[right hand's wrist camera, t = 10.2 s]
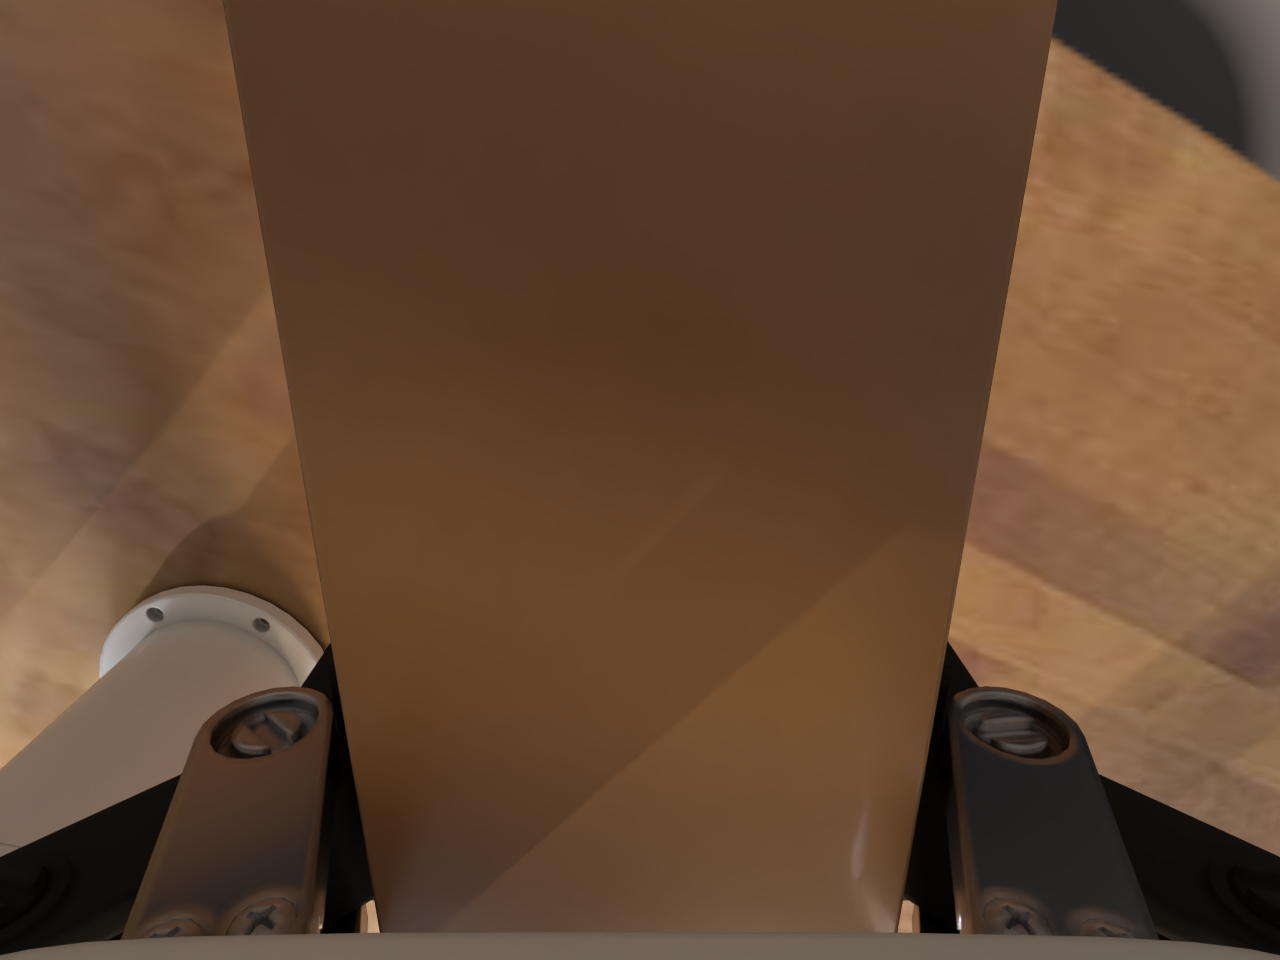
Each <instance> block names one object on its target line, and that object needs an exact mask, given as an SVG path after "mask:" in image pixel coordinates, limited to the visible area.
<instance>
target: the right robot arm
mask: <svg viewBox="0 0 1280 960" xmlns="http://www.w3.org/2000/svg"><path fill="white" fill-rule="evenodd" d="M370 900H374V895H373V889H372V883H371V877H370V871H369V865H368V859H367V853H366V847H365V841H364V835H363V830H362V824H361V818H360V812H359V806H358V800H357V794H356V788H355V782H354V776H353V770H352V764H351V758H350V752H349V747H348V741H347V735H346V729H345V723H344V717H343V711H342V705H341V699H340V693H339V687H338V681H337V675H336V669H335V663H334V658H333V652H332V646H331V643H330V644H329V646H328V647H327V649H326V650H325V652H323V650H322V648H321V646H320V645H319V644H318V643H317V642H316V640H315V639H314V638H313V637H312V635H311V634H310V633H309V632H308V631H307V630H306V629H305V628H304V627H303V626H302V625H301V624H299V623H298V622H297V621H296V620H295V619H294V618H293V617H291V616H290V615H289V614H287V613H286V612H284V611H282V610H281V609H279V608H278V607H276V606H274V605H273V604H271V603H269V602H267V601H265V600H262V599H260V598H258V597H255V596H253V595H251V594H248V593H245V592H241V591H237V590H233V589H229V588H225V587H215V586H205V585H200V586H185V587H178V588H174V589H170V590H166V591H162V592H160V593H157V594H155V595H153V596H151V597H149V598H147V599H145V600H143V601H142V602H141V603H139V604H138V605H137V606H135V607H134V608H133V609H132V610H130V611H129V612H128V613H126V614H125V615H124V616H123V617H122V618H121V619H120V620H119V621H118V623H117V624H116V625H115V626H114V627H113V628H112V630H111V632H110V633H109V635H108V637H107V639H106V640H105V642H104V645H103V649H102V653H101V657H100V679H99V680H98V681H97V682H96V683H95V684H94V685H93V686H91V687H90V688H89V689H88V690H87V691H86V692H85V693H84V694H83V695H82V696H81V697H79V698H78V699H77V700H76V701H75V702H74V703H73V704H72V705H71V706H70V707H68V708H67V709H66V710H65V711H64V712H63V713H62V714H61V715H60V716H59V717H57V718H56V719H55V720H54V721H53V722H52V723H51V724H50V725H49V726H48V727H47V728H45V729H44V730H43V731H42V732H41V733H40V734H39V735H38V736H37V737H36V738H34V739H33V740H32V741H31V742H30V743H29V744H28V745H27V746H26V747H25V748H23V749H22V750H21V751H20V752H19V753H18V754H17V755H16V756H15V757H14V758H13V759H11V760H10V761H9V762H8V763H7V764H6V765H5V766H4V767H3V768H2V769H0V960H1280V857H1279V856H1276V855H1274V854H1272V853H1270V852H1268V851H1265V850H1263V849H1261V848H1259V847H1257V846H1255V845H1252V844H1250V843H1248V842H1246V841H1244V840H1241V839H1239V838H1237V837H1235V836H1233V835H1231V834H1228V833H1226V832H1224V831H1222V830H1220V829H1217V828H1215V827H1213V826H1211V825H1209V824H1207V823H1204V822H1202V821H1200V820H1198V819H1196V818H1193V817H1191V816H1189V815H1187V814H1185V813H1182V812H1180V811H1178V810H1176V809H1174V808H1172V807H1169V806H1167V805H1165V804H1163V803H1161V802H1158V801H1156V800H1154V799H1152V798H1150V797H1148V796H1145V795H1143V794H1141V793H1139V792H1137V791H1134V790H1132V789H1130V788H1128V787H1126V786H1123V785H1121V784H1119V783H1117V782H1115V781H1113V780H1110V779H1108V778H1106V777H1104V776H1102V775H1099V774H1098V771H1097V769H1096V766H1095V763H1094V761H1093V758H1092V755H1091V752H1090V750H1089V747H1088V744H1087V742H1086V739H1085V736H1084V735H1083V733H1082V731H1081V730H1080V728H1079V726H1078V725H1077V723H1076V722H1075V721H1073V720H1072V719H1071V718H1070V717H1069V716H1068V715H1067V714H1066V713H1065V712H1064V711H1062V710H1060V709H1059V708H1057V707H1055V706H1054V705H1052V704H1050V703H1049V702H1047V701H1045V700H1043V699H1040V698H1038V697H1035V696H1033V695H1030V694H1028V693H1025V692H1021V691H1017V690H1013V689H1009V688H1002V687H989V686H984V687H978V685H977V684H976V682H975V681H974V679H973V678H972V676H971V675H970V673H969V672H968V671H967V669H966V668H965V666H964V665H963V663H962V662H961V660H960V659H959V657H958V656H957V654H956V653H955V651H954V650H953V648H952V647H951V645H950V644H949V642H948V641H947V646H946V652H945V658H944V664H943V670H942V675H941V681H940V687H939V693H938V699H937V704H936V710H935V716H934V722H933V728H932V733H931V739H930V745H929V751H928V757H927V763H926V768H925V774H924V780H923V786H922V792H921V797H920V803H919V809H918V815H917V821H916V826H915V832H914V838H913V844H912V850H911V856H910V861H909V867H908V873H907V879H906V885H905V890H904V896H903V900H909V901H911V902H912V903H914V909H913V915H912V928H913V933H826V932H454V933H367V928H368V915H367V909H366V903H367V902H369V901H370Z"/></svg>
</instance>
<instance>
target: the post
mask: <svg viewBox="0 0 1280 960" xmlns="http://www.w3.org/2000/svg"><path fill="white" fill-rule="evenodd" d="M1057 1H1058V0H223V5H224V11H225V17H226V23H227V29H228V35H229V41H230V47H231V53H232V59H233V64H234V70H235V76H236V82H237V88H238V94H239V100H240V106H241V112H242V118H243V124H244V130H245V136H246V142H247V147H248V153H249V159H250V165H251V171H252V177H253V183H254V189H255V195H256V201H257V207H258V213H259V219H260V225H261V231H262V236H263V242H264V248H265V254H266V260H267V266H268V272H269V278H270V284H271V290H272V296H273V302H274V308H275V314H276V319H277V325H278V331H279V337H280V343H281V349H282V355H283V361H284V367H285V373H286V379H287V385H288V391H289V397H290V403H291V408H292V414H293V420H294V426H295V432H296V438H297V444H298V450H299V456H300V462H301V468H302V474H303V480H304V486H305V491H306V497H307V503H308V509H309V515H310V521H311V527H312V533H313V539H314V545H315V551H316V557H317V563H318V569H319V575H320V580H321V586H322V592H323V598H324V604H325V610H326V616H327V622H328V628H329V634H330V640H331V646H332V652H333V658H334V663H335V669H336V675H337V681H338V687H339V693H340V699H341V705H342V711H343V717H344V723H345V729H346V735H347V741H348V747H349V752H350V758H351V764H352V770H353V776H354V782H355V788H356V794H357V800H358V806H359V812H360V818H361V824H362V830H363V835H364V841H365V847H366V853H367V859H368V865H369V871H370V877H371V883H372V889H373V895H374V901H375V907H376V913H377V919H378V924H379V930H380V933H454V932H826V933H897V931H898V925H899V919H900V914H901V908H902V902H903V896H904V890H905V885H906V879H907V873H908V867H909V861H910V856H911V850H912V844H913V838H914V832H915V826H916V821H917V815H918V809H919V803H920V797H921V792H922V786H923V780H924V774H925V768H926V763H927V757H928V751H929V745H930V739H931V733H932V728H933V722H934V716H935V710H936V704H937V699H938V693H939V687H940V681H941V675H942V670H943V664H944V658H945V652H946V646H947V640H948V635H949V629H950V623H951V617H952V611H953V606H954V600H955V594H956V588H957V582H958V577H959V571H960V565H961V559H962V553H963V548H964V542H965V536H966V530H967V524H968V518H969V513H970V507H971V501H972V495H973V489H974V484H975V478H976V472H977V466H978V460H979V455H980V449H981V443H982V437H983V431H984V425H985V420H986V414H987V408H988V402H989V396H990V391H991V385H992V379H993V373H994V367H995V362H996V356H997V350H998V344H999V338H1000V332H1001V327H1002V321H1003V315H1004V309H1005V303H1006V298H1007V292H1008V286H1009V280H1010V274H1011V269H1012V263H1013V257H1014V251H1015V245H1016V239H1017V234H1018V228H1019V222H1020V216H1021V210H1022V205H1023V199H1024V193H1025V187H1026V181H1027V176H1028V170H1029V164H1030V158H1031V152H1032V146H1033V141H1034V135H1035V129H1036V123H1037V117H1038V112H1039V106H1040V100H1041V94H1042V88H1043V83H1044V77H1045V71H1046V65H1047V59H1048V53H1049V48H1050V42H1051V36H1052V30H1053V24H1054V19H1055V13H1056V7H1057Z"/></svg>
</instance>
